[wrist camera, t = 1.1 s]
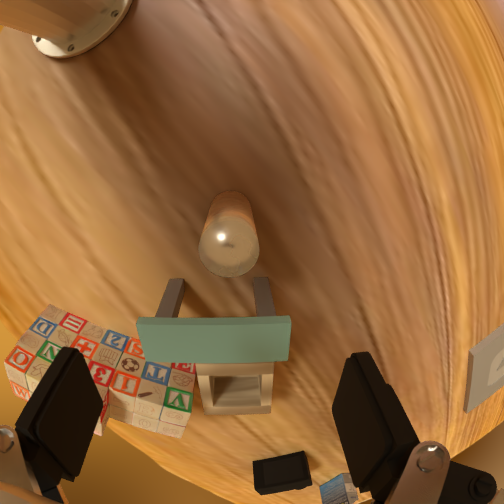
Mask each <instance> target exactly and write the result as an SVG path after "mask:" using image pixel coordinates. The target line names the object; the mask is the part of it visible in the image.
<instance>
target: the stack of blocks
mask: <svg viewBox="0 0 504 504" xmlns="http://www.w3.org/2000/svg"><path fill="white" fill-rule="evenodd" d="M64 346H66V347H72V348H77V349H78V350H79V351H80V353H82V354H83V355H84V358H85V360H86V363H87V366H88V368H89V370H90V373H91V375H92V378H93V380H94V382H95V385H96V387H97V389H98V391H99V394H100V396H101V398H102V400H103V409H102V412H101V415H100V417H99V420H98V423H97V425H96V428H95V431H94V433H95V434H97V435H100V436H102V435H103V432H104V429H105V427H106V424H107V421H108V418H109V417H110V418H113V419H115V420H118V421H121V422H124V423H128V424H131V425H133V426H136V427H139V428H143V429H146V430H149V431H153V432H158V433H161V434H164V435H168V436H172V437H176V438H181V437H182V434H183V432H184V430H185V428H186V424H187V422H188V420H189V417H190V415H191V411H192V402H193V390H194V384H195V377H196V376H195V374H196V365H195V363H168V362H148V361H146V360H145V356H144V353H143V349H142V346H141V342H140V340H137V339H134V338H132V337H128V336H125V335H122V334H120V333H117V332H114V331H112V330H108V329H106V328H103V327H101V326H98V325H96V324H93V323H91V322H88V321H87V320H84V319H82V318H80V317H77V316H75V315H73V314H70V313H68V312H66V311H64V310H62V309H60V308H57V307H55V306H53V305H51V304H49V305H48V307H47V308H46V309H45V310H44V311H43V312H42V313H41V315H40V316H39V317H38V319H37V320H36V321H35V322H34V323H33V324H32V326H31V327H30V328H29V329H28V330H27V331H26V332H25V333H24V334H23V336H22V337H21V338H20V339H19V340H18V342H17V343H16V346H15V348H14V349H13V350H12V351H11V353H10V354H9V355H8V357H7V358H6V359H5V361H4V364H5V368H6V372H7V375H8V378H9V381H10V385H11V387H12V390H13V393H14V394H15V395H16V396H18V397H20V398H21V399H23V400H25V401H27V402H28V400H29V399H30V397H31V395H32V394H33V392H34V390H35V389H36V387H37V385H38V384H39V382H40V380H41V379H42V377H43V376H44V374H45V372H46V371H47V369H48V368H49V366H50V365H51V363H52V362H53V360H54V358H55V357H56V355H57V354H58V352H59V351H60V349H61V348H62V347H64Z"/></svg>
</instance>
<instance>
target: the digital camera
mask: <svg viewBox="0 0 504 504" xmlns="http://www.w3.org/2000/svg"><path fill="white" fill-rule="evenodd" d="M253 474H254V488H255V490H256V491H257V492H258V493H259V494H260V495H266V494H272V493H278V492H283V491H289V490H294V489H296V490H300V489H303V488H305V487H307V486H311V485H312V480H311V475H310V470H309V465H308V461H307V457H306V455H305V453H304V451H300V452H296V453H292V454H287V455H283V456H278V457H273V458H268V459H263V460H257V461H253Z"/></svg>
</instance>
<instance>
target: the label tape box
mask: <svg viewBox="0 0 504 504" xmlns="http://www.w3.org/2000/svg"><path fill="white" fill-rule="evenodd" d="M320 493H321V499H322V504H352V503H354V502H355V501H356V500H358V495H357V491H356V488H355V487H354V485H353V482H352V478H351V475H350V474H348V473H341V474H340V475H338V476H336V477H335V478H333V479H332V480H330V481H329V482H327V483H325V484H323V485H322V486H320Z"/></svg>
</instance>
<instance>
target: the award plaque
mask: <svg viewBox="0 0 504 504" xmlns="http://www.w3.org/2000/svg"><path fill="white" fill-rule="evenodd" d="M502 386H504V323H503V324H502V325H501V326H499V327H498V328H497V329H496V330H495V331H493V332H492V333H491V334H490V335H488V336H487V337H486V338H484V339H483V340H482V341H481V342H479V343H478V344H477V345H475V346H474V347H473V348H471V349H470V350H469V359H468V373H467V384H466V393H465V401H464V408H463V409H464V411H465V412H466V414H467V413H468V412H470V411H471V410H472V409H474V408H475V407H477V406H478V405H479V404H481V403H482V402H483V401H485V400H486V399H487V398H489V397H490V396H491V395H492V394H494V393H495V392H496V391H497V390H499V389H500V388H501V387H502Z"/></svg>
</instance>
